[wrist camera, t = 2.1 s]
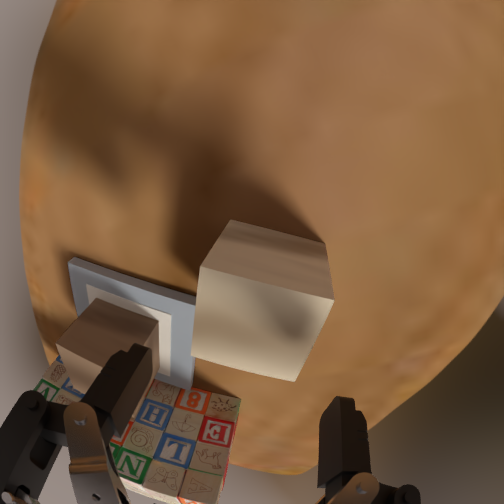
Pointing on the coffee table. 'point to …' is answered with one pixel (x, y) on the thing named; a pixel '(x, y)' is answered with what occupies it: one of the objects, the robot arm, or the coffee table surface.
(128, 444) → the stack of blocks
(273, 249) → the maple block
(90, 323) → the walnut block
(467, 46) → the coffee table surface
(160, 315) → the build board
